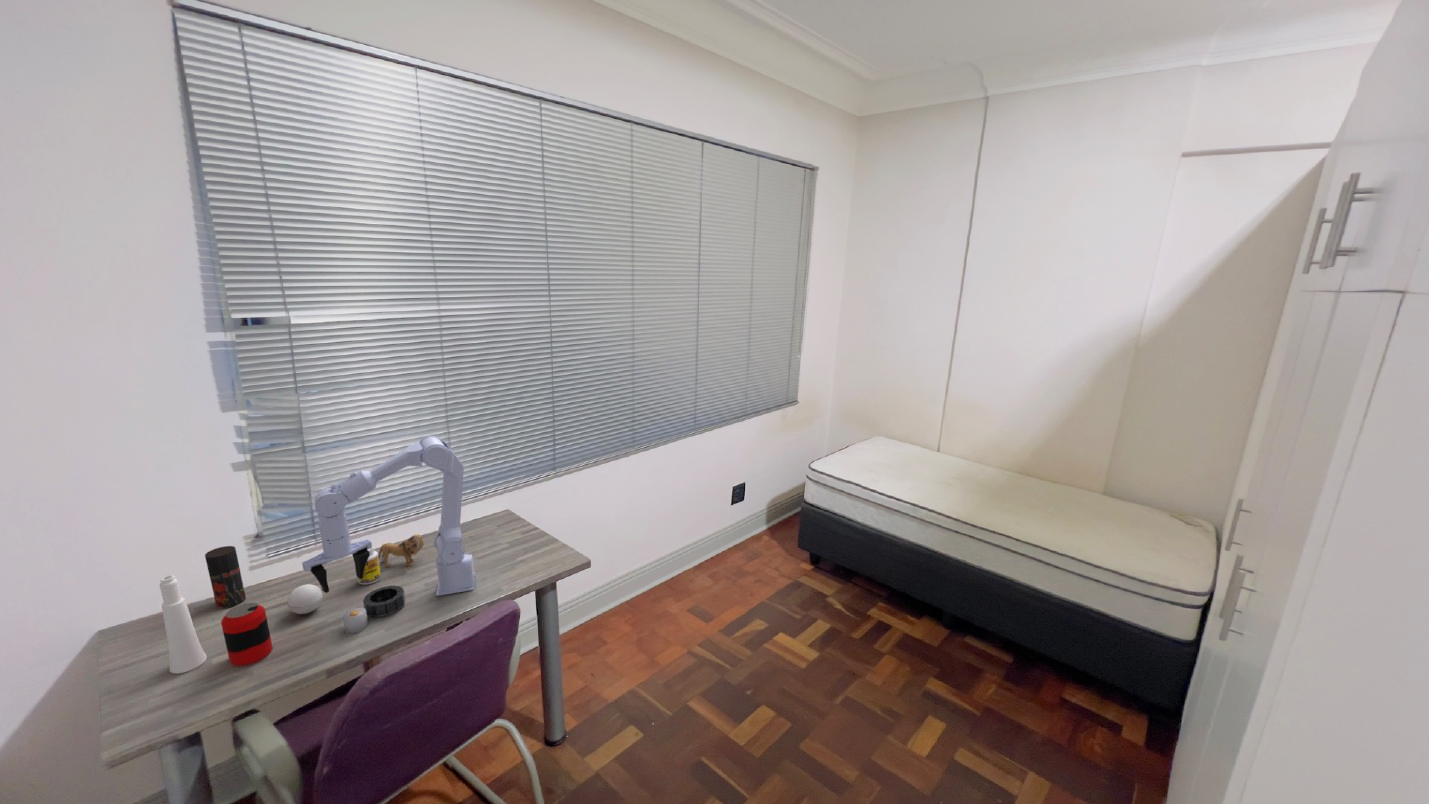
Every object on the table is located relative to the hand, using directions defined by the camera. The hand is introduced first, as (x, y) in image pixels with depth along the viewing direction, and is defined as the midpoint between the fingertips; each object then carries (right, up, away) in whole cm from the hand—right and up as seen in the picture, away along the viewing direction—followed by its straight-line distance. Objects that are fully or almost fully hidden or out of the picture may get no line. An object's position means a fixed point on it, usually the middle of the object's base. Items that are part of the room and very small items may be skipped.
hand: (343, 584), depth 136 cm
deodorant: (-35, -8, +8) cm, 37 cm away
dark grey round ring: (+7, -8, +7) cm, 13 cm away
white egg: (-13, -9, +4) cm, 17 cm away
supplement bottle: (-5, -5, +19) cm, 20 cm away
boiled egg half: (+4, -10, -1) cm, 11 cm away
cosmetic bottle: (-25, -13, -15) cm, 32 cm away
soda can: (-13, -13, -12) cm, 22 cm away
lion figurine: (-2, -3, +28) cm, 29 cm away
